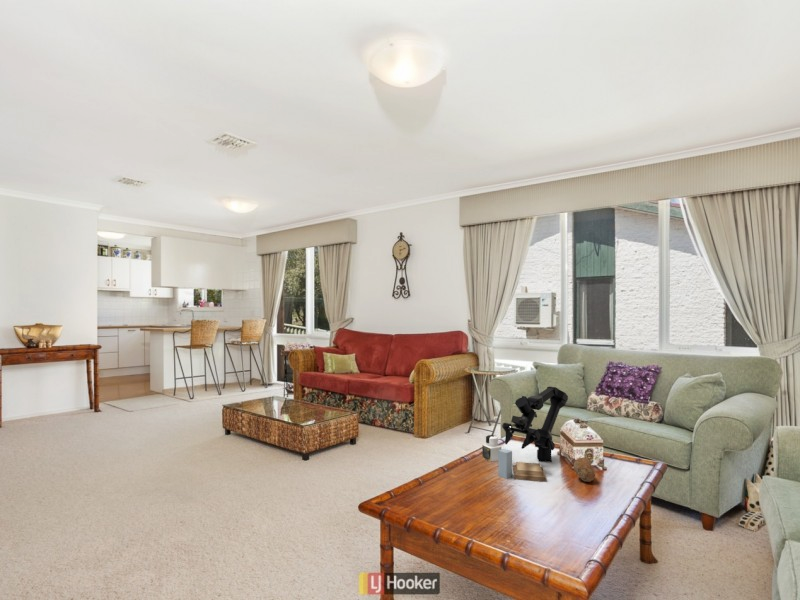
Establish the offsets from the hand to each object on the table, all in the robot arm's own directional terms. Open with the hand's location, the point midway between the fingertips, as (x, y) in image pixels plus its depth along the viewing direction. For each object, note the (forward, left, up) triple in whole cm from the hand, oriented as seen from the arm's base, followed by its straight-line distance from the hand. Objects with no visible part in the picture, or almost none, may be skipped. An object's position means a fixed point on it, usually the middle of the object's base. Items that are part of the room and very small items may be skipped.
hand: (513, 446), depth 219 cm
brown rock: (-32, +3, -13) cm, 35 cm away
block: (+4, +6, -13) cm, 15 cm away
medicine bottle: (+10, -18, -13) cm, 25 cm away
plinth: (-7, +2, -13) cm, 15 cm away
